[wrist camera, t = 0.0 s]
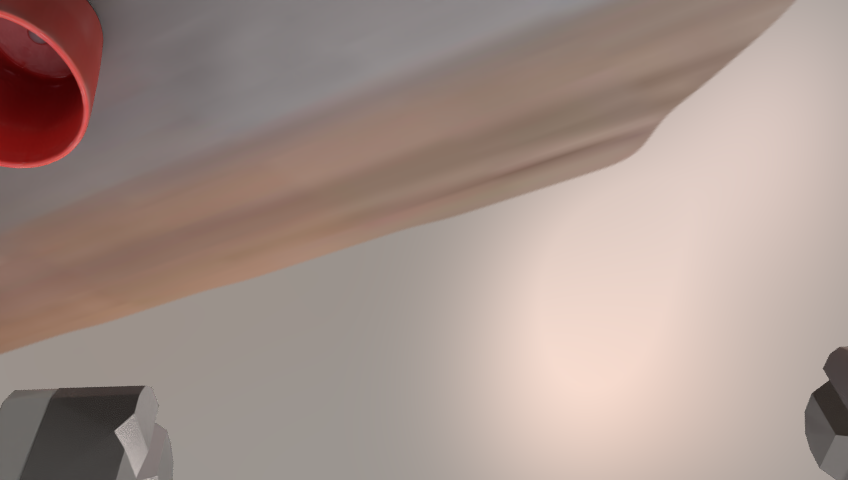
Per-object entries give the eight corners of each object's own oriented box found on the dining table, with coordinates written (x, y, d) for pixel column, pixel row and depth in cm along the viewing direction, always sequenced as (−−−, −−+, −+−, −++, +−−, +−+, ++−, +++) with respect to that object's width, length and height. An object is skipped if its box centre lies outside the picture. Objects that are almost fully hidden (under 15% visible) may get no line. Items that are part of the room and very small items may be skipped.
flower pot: (-27, 86, 58) (-85, 158, 50) (-51, -66, 51) (-121, -10, 44) (125, 107, 60) (93, 180, 52) (122, -37, 53) (83, 22, 46)
